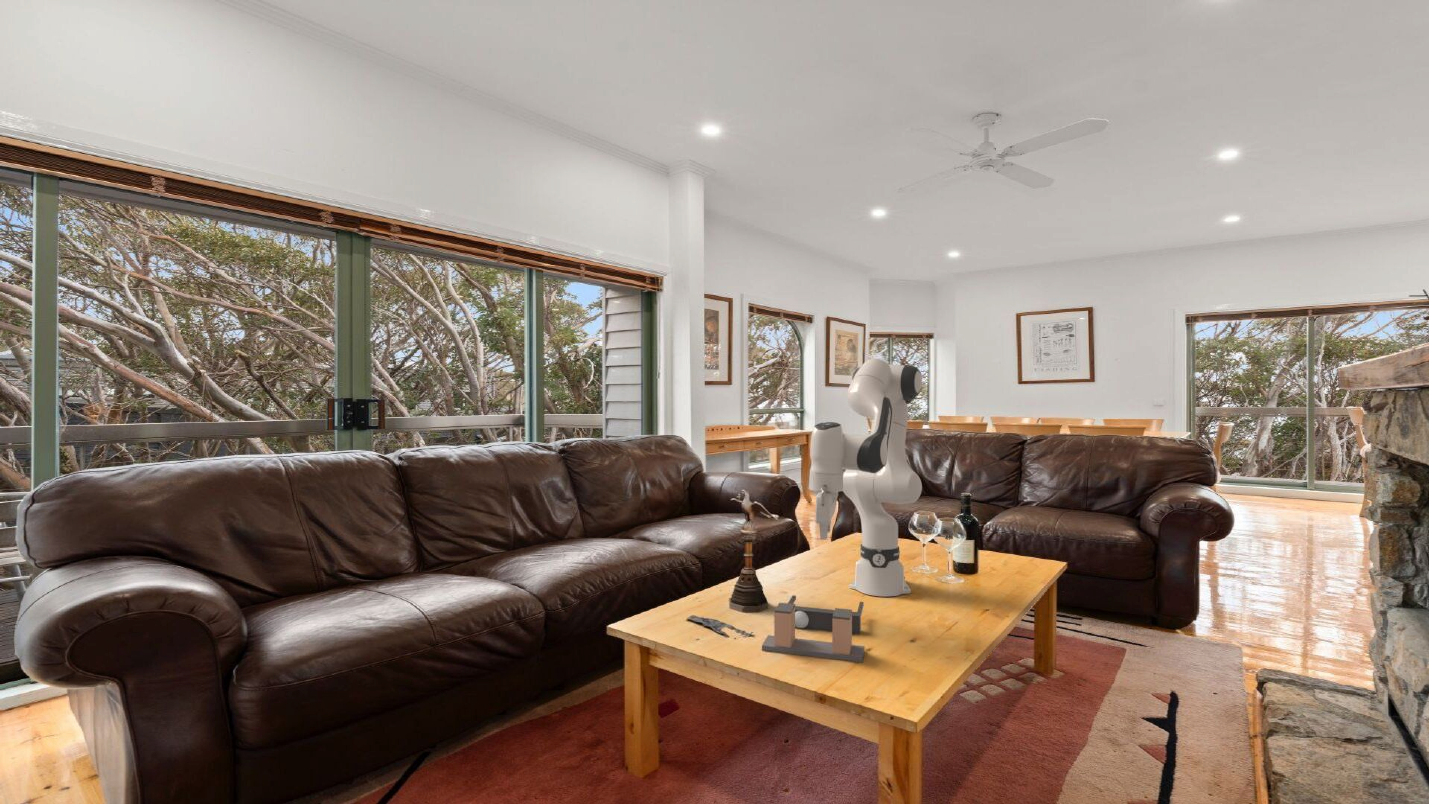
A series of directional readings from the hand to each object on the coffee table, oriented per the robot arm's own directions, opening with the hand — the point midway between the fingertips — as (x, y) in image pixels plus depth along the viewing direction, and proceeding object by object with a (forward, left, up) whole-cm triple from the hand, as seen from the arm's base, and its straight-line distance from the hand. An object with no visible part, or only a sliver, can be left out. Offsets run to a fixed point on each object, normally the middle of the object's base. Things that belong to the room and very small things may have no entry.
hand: (825, 535), depth 174 cm
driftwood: (+8, -28, -26) cm, 39 cm away
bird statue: (-14, -24, -25) cm, 37 cm away
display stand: (+16, -1, -25) cm, 29 cm away
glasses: (-5, -1, -25) cm, 26 cm away
